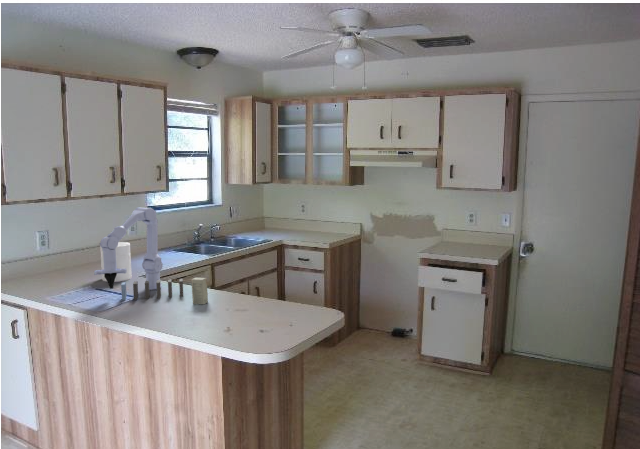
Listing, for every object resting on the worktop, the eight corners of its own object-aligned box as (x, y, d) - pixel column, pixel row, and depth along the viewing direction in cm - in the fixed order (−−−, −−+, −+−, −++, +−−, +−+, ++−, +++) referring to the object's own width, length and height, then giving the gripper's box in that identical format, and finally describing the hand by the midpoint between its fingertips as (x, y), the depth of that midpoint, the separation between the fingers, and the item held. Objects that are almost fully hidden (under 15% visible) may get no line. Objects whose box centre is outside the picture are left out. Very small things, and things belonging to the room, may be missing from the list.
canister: (136, 275, 296) (135, 242, 293) (123, 282, 280) (121, 247, 277) (111, 274, 298) (109, 241, 295) (96, 281, 282) (94, 246, 279)
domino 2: (134, 296, 252) (134, 281, 250) (138, 296, 252) (137, 281, 251) (133, 299, 247) (133, 284, 246) (137, 299, 247) (136, 283, 246)
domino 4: (157, 295, 254) (157, 280, 253) (161, 295, 255) (160, 280, 254) (157, 298, 249) (156, 282, 248) (160, 297, 250) (159, 282, 249)
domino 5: (169, 294, 256) (168, 279, 254) (172, 294, 256) (171, 279, 255) (168, 297, 251) (167, 282, 250) (171, 297, 251) (171, 281, 250)
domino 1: (123, 297, 250) (122, 282, 249) (126, 297, 251) (125, 282, 250) (122, 300, 245) (121, 284, 244) (125, 300, 246) (124, 284, 245)
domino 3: (146, 296, 253) (145, 280, 252) (149, 295, 253) (149, 280, 252) (145, 298, 248) (144, 283, 247) (148, 298, 249) (148, 283, 247)
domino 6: (180, 294, 257) (179, 278, 256) (183, 293, 257) (182, 278, 256) (179, 296, 252) (179, 281, 251) (183, 296, 253) (182, 281, 251)
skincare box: (208, 302, 243) (207, 277, 241) (203, 304, 239) (203, 280, 237) (196, 301, 244) (195, 276, 243) (191, 303, 240) (191, 279, 239)
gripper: (92, 263, 238) (94, 291, 240) (124, 262, 242) (126, 289, 244) (95, 260, 245) (96, 287, 247) (126, 259, 249) (127, 285, 251)
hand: (111, 288), depth 246 cm, fingers closed
